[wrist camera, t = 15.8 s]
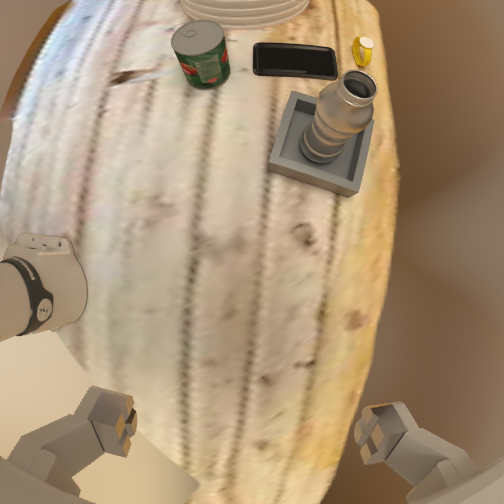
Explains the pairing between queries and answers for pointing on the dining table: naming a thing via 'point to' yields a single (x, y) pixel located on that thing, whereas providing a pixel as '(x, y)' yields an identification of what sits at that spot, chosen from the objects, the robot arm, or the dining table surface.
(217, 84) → the canned tomato
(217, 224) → the dining table surface
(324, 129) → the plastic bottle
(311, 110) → the tray
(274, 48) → the phone
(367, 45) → the watch
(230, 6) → the plate stack
